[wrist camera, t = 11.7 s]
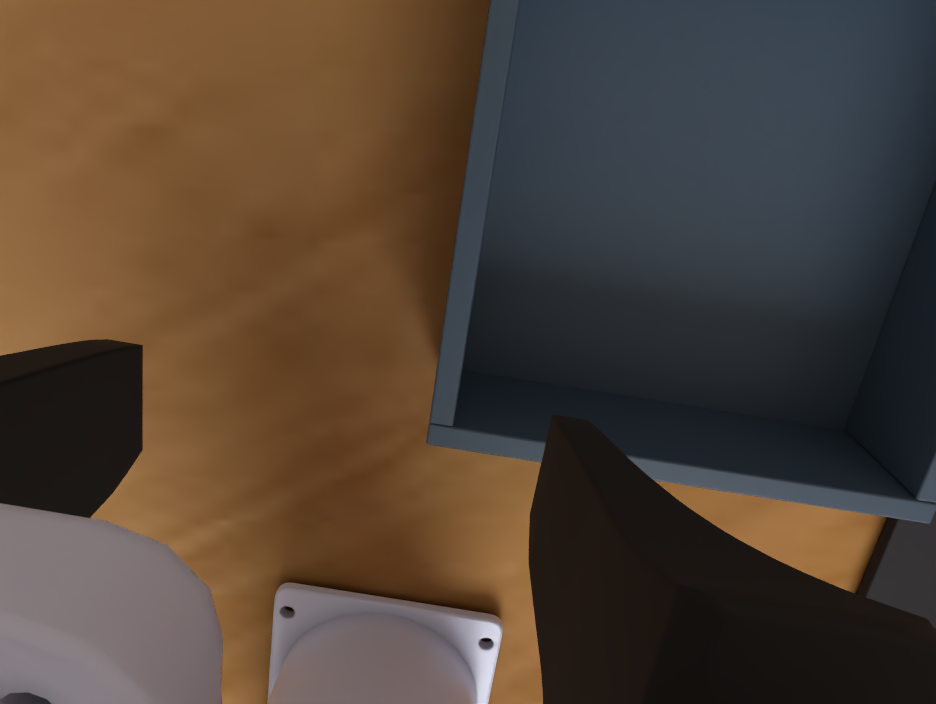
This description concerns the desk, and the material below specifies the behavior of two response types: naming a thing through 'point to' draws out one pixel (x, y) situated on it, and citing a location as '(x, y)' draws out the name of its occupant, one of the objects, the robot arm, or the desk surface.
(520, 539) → the desk surface
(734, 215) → the bin
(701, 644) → the robot arm
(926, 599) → the mat
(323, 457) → the desk surface
